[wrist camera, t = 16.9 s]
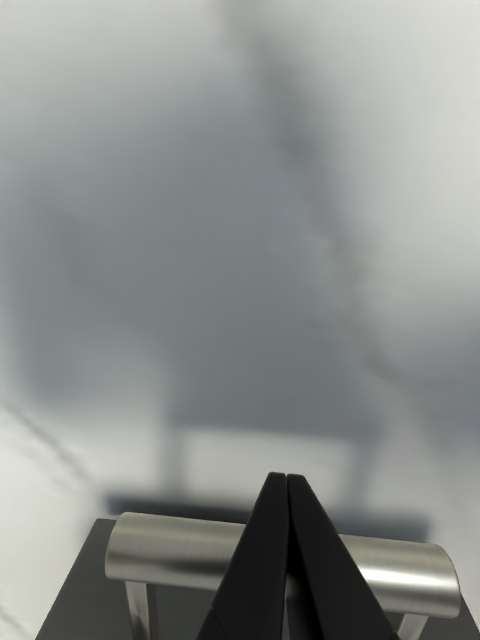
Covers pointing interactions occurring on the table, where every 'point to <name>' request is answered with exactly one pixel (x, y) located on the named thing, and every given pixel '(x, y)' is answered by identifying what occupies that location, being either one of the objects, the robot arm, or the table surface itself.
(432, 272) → the table surface
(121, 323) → the table surface
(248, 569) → the robot arm
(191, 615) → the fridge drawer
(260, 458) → the table surface
